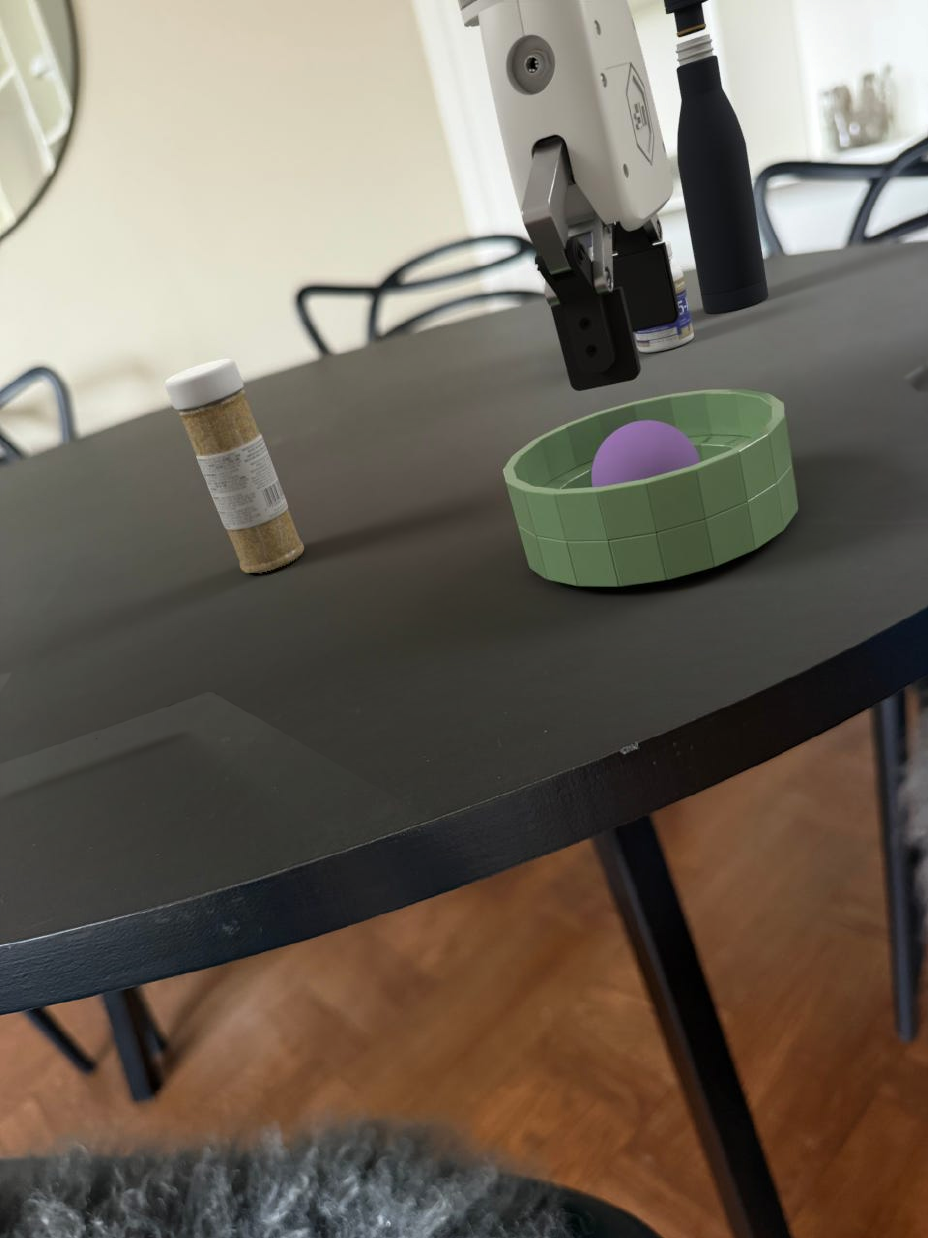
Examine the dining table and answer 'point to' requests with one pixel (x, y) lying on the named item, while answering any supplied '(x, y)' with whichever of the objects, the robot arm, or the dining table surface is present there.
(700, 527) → the bowl
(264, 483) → the spice jar
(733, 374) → the dining table surface
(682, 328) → the pill bottle
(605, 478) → the ball
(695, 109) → the black water bottle
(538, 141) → the robot arm
